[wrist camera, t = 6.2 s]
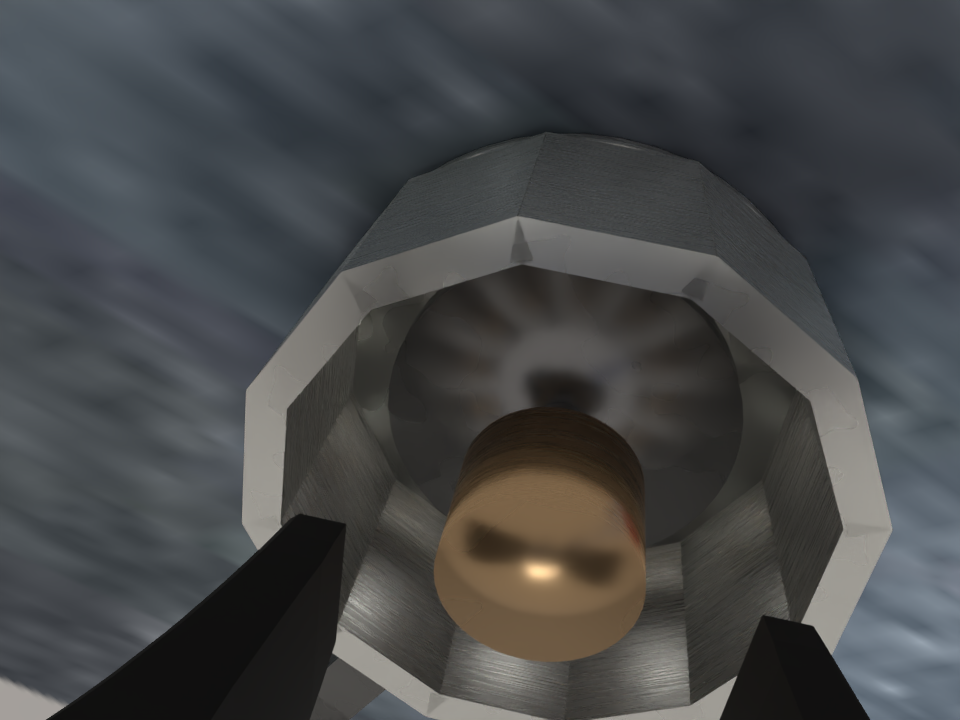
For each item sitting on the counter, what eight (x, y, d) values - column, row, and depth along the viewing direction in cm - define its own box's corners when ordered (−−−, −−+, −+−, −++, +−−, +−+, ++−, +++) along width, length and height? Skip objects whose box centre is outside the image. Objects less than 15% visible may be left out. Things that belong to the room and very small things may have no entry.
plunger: (816, 401, 15) (880, 592, 11) (576, 589, 18) (559, 797, 14) (545, 168, 14) (508, 288, 10) (332, 408, 17) (237, 577, 13)
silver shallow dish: (934, 366, 16) (1031, 530, 12) (521, 678, 21) (493, 865, 17) (541, 12, 14) (503, 69, 10) (194, 446, 19) (80, 595, 15)
